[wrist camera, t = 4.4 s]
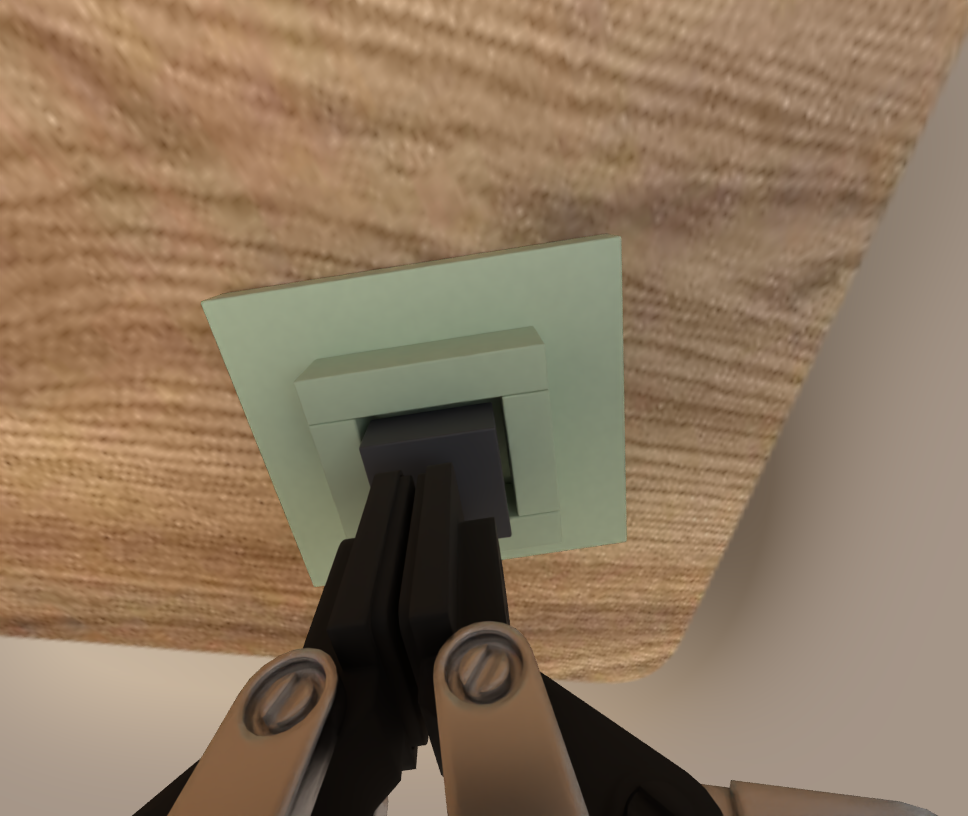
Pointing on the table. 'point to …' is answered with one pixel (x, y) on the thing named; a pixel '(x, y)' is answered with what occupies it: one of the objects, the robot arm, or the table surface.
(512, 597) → the table surface
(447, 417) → the key
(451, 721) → the robot arm
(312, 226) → the table surface
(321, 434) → the square socket base
